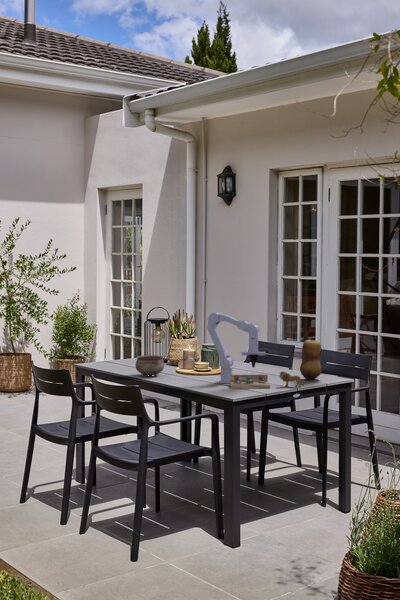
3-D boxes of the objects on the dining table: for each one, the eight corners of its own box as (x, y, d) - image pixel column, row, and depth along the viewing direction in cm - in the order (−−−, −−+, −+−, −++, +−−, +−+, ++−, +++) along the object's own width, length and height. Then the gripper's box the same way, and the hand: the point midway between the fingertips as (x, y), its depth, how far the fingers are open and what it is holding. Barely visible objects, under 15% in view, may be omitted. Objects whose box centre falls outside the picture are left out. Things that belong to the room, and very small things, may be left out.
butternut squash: (320, 381, 494) (321, 341, 493) (299, 380, 497) (299, 341, 495) (321, 378, 508) (321, 339, 507) (300, 377, 510) (300, 338, 509)
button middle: (246, 382, 478) (246, 379, 477) (252, 382, 478) (252, 379, 478) (247, 383, 474) (247, 380, 474) (253, 383, 474) (253, 380, 474)
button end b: (258, 384, 478) (258, 381, 478) (264, 384, 478) (264, 381, 478) (259, 385, 474) (259, 382, 474) (265, 385, 474) (265, 382, 474)
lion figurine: (279, 386, 474) (279, 371, 474) (279, 385, 479) (279, 370, 479) (304, 387, 472) (304, 372, 471) (304, 386, 477) (304, 371, 477)
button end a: (234, 384, 477) (234, 381, 477) (239, 384, 478) (239, 381, 477) (234, 385, 474) (234, 382, 474) (240, 385, 474) (240, 382, 474)
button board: (229, 384, 483) (229, 374, 482) (267, 384, 483) (267, 374, 483) (231, 388, 469) (231, 378, 468) (270, 388, 469) (270, 378, 469)
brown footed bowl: (149, 372, 533) (148, 354, 533) (172, 374, 524) (172, 355, 523) (126, 377, 512) (126, 358, 511) (151, 379, 502) (150, 360, 502)
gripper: (242, 345, 478) (242, 368, 479) (266, 345, 479) (266, 367, 480) (241, 344, 486) (241, 366, 486) (264, 344, 486) (264, 366, 487)
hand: (253, 367), depth 483 cm, fingers closed
